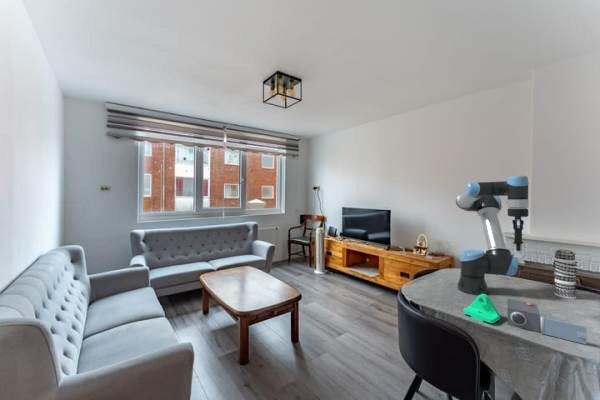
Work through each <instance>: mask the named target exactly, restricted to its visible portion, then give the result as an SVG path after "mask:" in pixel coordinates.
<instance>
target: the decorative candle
mask: <svg viewBox="0 0 600 400" xmlns="http://www.w3.org/2000/svg"><path fill="white" fill-rule="evenodd" d="M553 253H554V260H553V262H552V266H553V271H552V272H553V274H554V281H553V283H554V284H553V295H555V296H557V297H560V298H563V299H569V300H577V293H578V292H577V282H576V277H577V273H578V272H577V270H578V268H576V267H577V266H578V265H577V264H578V262H577V261H576V253H574V251H572V250H569V249H562V248H561V249H556V250H555V251H554V252H553Z"/></svg>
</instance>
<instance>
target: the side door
mask: <svg viewBox="0 0 600 400" xmlns="http://www.w3.org/2000/svg"><path fill="white" fill-rule="evenodd" d="M540 334H542V335H545V336H546V335H547V336H550V337H555V338H559V339H563V340H567V341H571V342H575V343H579V344H582V345H587V339H588V333H587V326H585V325H581V324H575V323H571V322H566V321H562V320H557V319H554V318H553V319H552V318H548V317H544V316H540Z"/></svg>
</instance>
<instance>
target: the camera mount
mask: <svg viewBox="0 0 600 400" xmlns="http://www.w3.org/2000/svg"><path fill="white" fill-rule="evenodd" d="M463 314H465V315H468V316H470V318H471V319H473V320H476V321H479V322H482V323H484V322H487V323H490V324H494V323H496V322H497V321H500V320H501V315H500V313H499V311H498V310H497V308H496V306H495V304H494V303H493V301H492V300H491V298H490V296H488V294H481V295H476V298H475V299H474V300H473V301H472V302H471V304H470V305H469V306H467V307H465V308H463Z"/></svg>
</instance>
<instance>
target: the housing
mask: <svg viewBox="0 0 600 400" xmlns="http://www.w3.org/2000/svg"><path fill="white" fill-rule="evenodd" d="M540 317H541V316H540V310H539V307H538V304H537V303H534V302H533V303H532V302H528V301H522V300H517V299H512V298H507V325H508V326H511V327H515V328H519V327H520V329H523V328H524V330H527V329H528V331H531V330H532V331H531V332H535V331H536V332H535V333H540V334H541V325H540Z"/></svg>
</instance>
